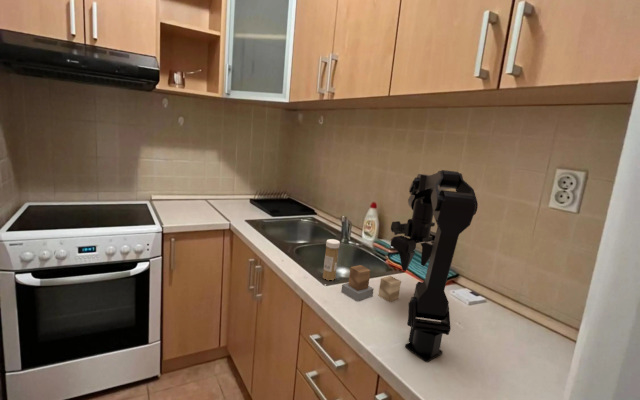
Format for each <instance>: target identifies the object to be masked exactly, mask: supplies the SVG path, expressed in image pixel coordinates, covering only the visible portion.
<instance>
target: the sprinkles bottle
mask: <svg viewBox="0 0 640 400" xmlns="http://www.w3.org/2000/svg"><path fill="white" fill-rule="evenodd" d="M340 244H341V242H340V240H338V239H334V238H331V239H327V240H326V241H325V254H324V261H323V262H324V263H323V274H322V279H323V280H325V279H326V280H325V281H329V280H332V281H335V280H336V278H337V277H336V275H337V269H338V268H337V266H338V259H339V258H338V256H339V250H340ZM334 279H335V280H334Z"/></svg>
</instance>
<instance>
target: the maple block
mask: <svg viewBox="0 0 640 400" xmlns="http://www.w3.org/2000/svg"><path fill="white" fill-rule="evenodd" d="M401 283H402V281H401V280H399V279H397V278H396V277H394V276H392V275H388V276H384V277H380V282H379V288H378V289H379V290H378V296H379V297H380V298H382V299H383V300H384V301H386V302H387V303H390V302H394V301H396V300H399V297H400V291H401V290H400V289H401V285H402V284H401Z"/></svg>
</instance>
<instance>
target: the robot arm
mask: <svg viewBox="0 0 640 400" xmlns="http://www.w3.org/2000/svg"><path fill="white" fill-rule="evenodd" d="M463 177H464V176H463V174H462V172H459V171H454V170H453V171H452V170H444V169H442V170H438V171H437V172H435V173H433V174H424V173H418V174H417V175H416V177H414V179H413V180H412V181H411V184H410V186H409V188H408V192H409V195H410V196H409V197H408V198H407V199H408V200H407V203H408V206H409V208H410V209H411V210H412V216H411V218H409V219H407V222H405V223H401V222H400V220H399V221H392V222H391V225H390V231H391V232H392V233H393V234H394V235H395V236H394V237H392V238H391V240H390V247H392V248H393V249H394V250H396V251H397V252H398V255H399V259H400V264H401V269H402V271H403V272H406V271H408V269H409V267H410V264H411V262H412V260H413V258H414V256H415V254H416V251H415V250H416V247H417V245H419V244H420V246H421V248H422V250H421V256H420V259H421V260H420V264H421V266H422V267H425V266H426V265H427V263H428V266H427V268H426V274H425V278H424V281H417V283H416V284H415V289H414V292H413V296H411V297H410V300H409V302H408V308H407V309H408V310H407V311H408V312H407V313H408V314H407V323H406V324H407V326H408V327H410V330H409V336H408V337H409V338H408V343H406V344H405V346H404V347H405V348H406V349H407V350H408V351H410V352H412V353H413V354H415V355H416V356H417V357H419V358H420V359H422V360H423V361H424V362H427V363H428V362H430V361H432V360H433V359H435V358H437V357H439V356H441V355H443V353H444V352H443V350H442V349H441V344H442V339H443V335H446V336H449V335H450V332H451V320H450V319H451V317H450V316H451V315H450V306H449V299H448V297H447V294H446V291H445V288H446V285H447V280H448V278H449V274H450V271H451V270H450V269H451V266H452V262H453V259H454V256H455V251H456V248H457V245H458V244H457V243H458V240H459V236H460V234H462V233H463V232H464V231H465V230H466V229H468V228H469V227H470V225H471V223H472V221H473V220H474V219H473V218H474V216H476V213H477V212H478V203H479V202H478V200H477V196H476V193H475V189H474V188H473V187H472V185H470V184H468V183H467V182H466V180H464V178H463ZM451 189H454V190H455V191H453V190H451ZM433 218H434V220H435V222H433ZM435 224H436V225H437V227H436V231H432V227H435V226H436V225H435Z"/></svg>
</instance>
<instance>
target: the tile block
mask: <svg viewBox="0 0 640 400" xmlns="http://www.w3.org/2000/svg"><path fill="white" fill-rule="evenodd" d="M348 283H349V282H346V283H342V285H341V291H340V292H341V293H342V294H344V296H345V295H346V296H347V297H349V298H351V299H352V300H354V301H355V302H358V303H359V302H360V301H363V300H366V299H369V298H371V297H373V295H374V287H372V286H370V285H368V288H367V289H363V290H359V291H357V290H355V289H354V288H352V287H351V286H349V285H348Z"/></svg>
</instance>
